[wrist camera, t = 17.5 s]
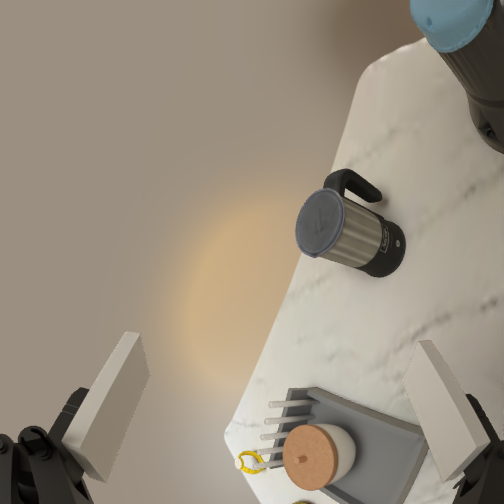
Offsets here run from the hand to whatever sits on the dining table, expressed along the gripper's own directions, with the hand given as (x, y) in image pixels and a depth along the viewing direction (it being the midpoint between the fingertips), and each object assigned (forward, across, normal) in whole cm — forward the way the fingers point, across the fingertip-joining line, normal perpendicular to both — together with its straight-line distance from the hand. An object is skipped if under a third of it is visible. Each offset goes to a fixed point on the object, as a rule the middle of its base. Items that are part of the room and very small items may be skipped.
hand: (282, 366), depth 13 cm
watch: (+24, +1, -52) cm, 58 cm away
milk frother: (+36, +16, -6) cm, 40 cm away
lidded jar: (+15, +13, -33) cm, 39 cm away
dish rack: (+14, +15, -33) cm, 38 cm away
